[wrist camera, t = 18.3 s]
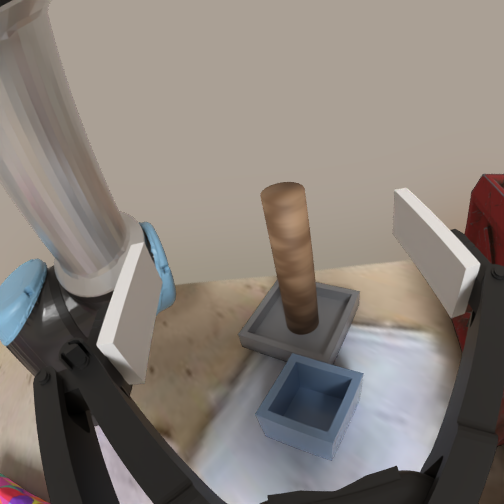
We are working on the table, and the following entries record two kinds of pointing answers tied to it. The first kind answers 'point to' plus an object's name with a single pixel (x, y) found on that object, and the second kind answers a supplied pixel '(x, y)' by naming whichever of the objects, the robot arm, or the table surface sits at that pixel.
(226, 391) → the table surface
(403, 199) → the robot arm
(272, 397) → the open box
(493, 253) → the jerry can
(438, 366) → the table surface
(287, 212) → the dowel
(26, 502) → the pencil case
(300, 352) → the tray
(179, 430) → the table surface
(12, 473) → the table surface
